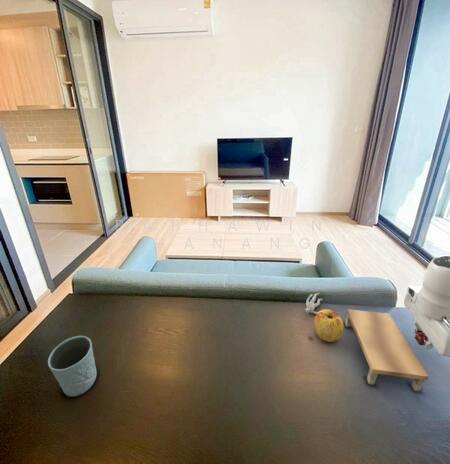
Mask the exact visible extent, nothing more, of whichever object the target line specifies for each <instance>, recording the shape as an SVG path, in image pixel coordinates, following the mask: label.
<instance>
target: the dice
mask: <svg viewBox="0 0 450 464" xmlns="http://www.w3.org/2000/svg"><path fill="white" fill-rule="evenodd" d="M414 339H415V341H416V342H417V344H418V345H419V346H424V344H423V343H424V340H426V341H428V337H427V336H426V335H425V333H424V332H416V333H415V335H414Z"/></svg>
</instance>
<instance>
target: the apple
mask: <svg viewBox="0 0 450 464" xmlns="http://www.w3.org/2000/svg"><path fill="white" fill-rule="evenodd" d="M317 312H318V313H317V314H315V316H314V320H313V326H314V329H315V333H316V335H317V337H319V338H320V340H322V341H324V342H327V343H333V342H336V341H337V340H339V339H340V338H341V337H342V335H343V333H344V322H343V320H342V319H343V318H341V316H340V315H339V314H338V313H337V312H336V311H334V310H332V309H330V308H329V309H328V308H323V309H320V310H319V311H317Z"/></svg>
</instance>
